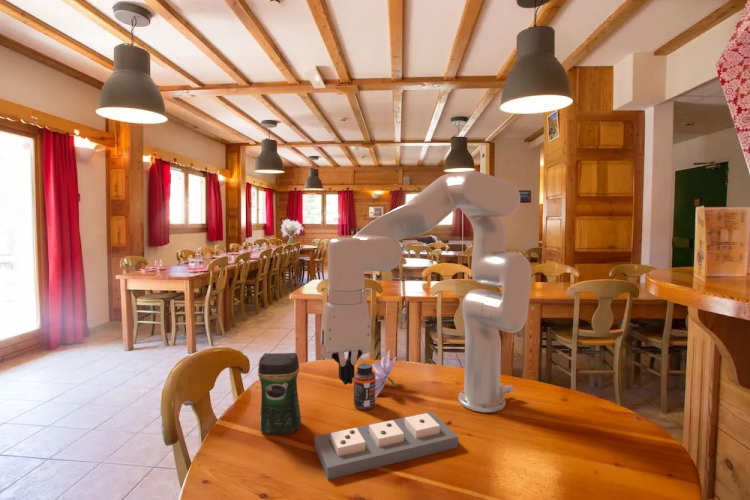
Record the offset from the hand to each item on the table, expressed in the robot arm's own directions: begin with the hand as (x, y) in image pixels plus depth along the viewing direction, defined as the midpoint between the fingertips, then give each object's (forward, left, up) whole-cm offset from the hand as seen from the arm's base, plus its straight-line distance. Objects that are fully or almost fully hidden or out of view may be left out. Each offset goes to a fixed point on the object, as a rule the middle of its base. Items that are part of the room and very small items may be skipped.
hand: (346, 381), depth 84 cm
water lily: (-19, -29, -17) cm, 39 cm away
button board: (-9, 0, -17) cm, 19 cm away
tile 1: (-18, 0, -15) cm, 23 cm away
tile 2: (-9, 0, -15) cm, 17 cm away
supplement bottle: (-11, -20, -17) cm, 28 cm away
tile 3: (0, 0, -15) cm, 15 cm away
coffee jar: (+12, -17, -17) cm, 27 cm away
